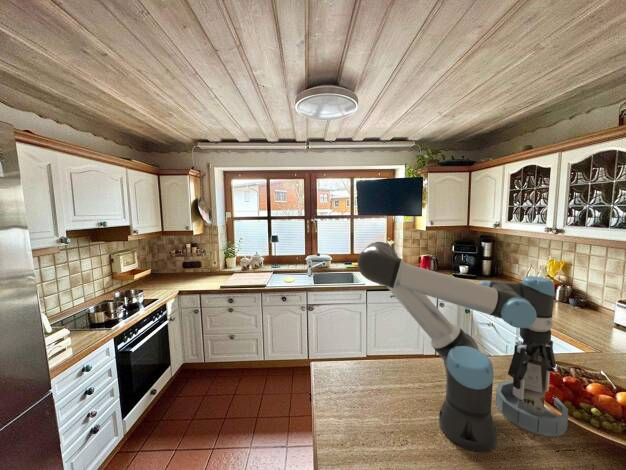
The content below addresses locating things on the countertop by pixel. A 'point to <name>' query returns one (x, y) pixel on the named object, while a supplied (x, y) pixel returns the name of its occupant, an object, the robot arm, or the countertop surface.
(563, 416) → the bowl
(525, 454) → the countertop surface
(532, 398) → the coffee box
